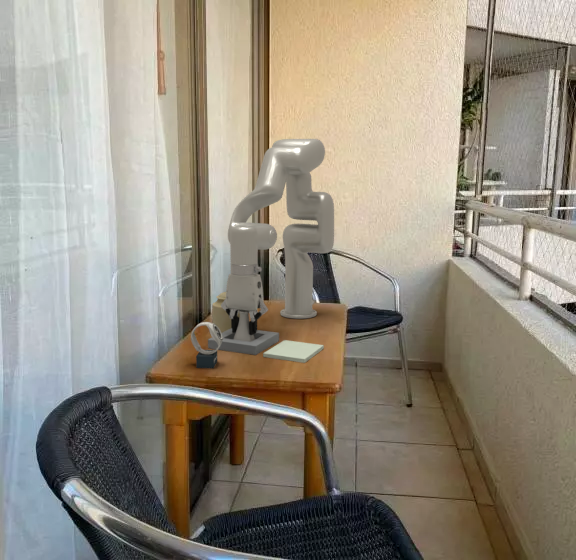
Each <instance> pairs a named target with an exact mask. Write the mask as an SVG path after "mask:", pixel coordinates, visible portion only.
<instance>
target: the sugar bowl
mask: <svg viewBox="0 0 576 560" xmlns="http://www.w3.org/2000/svg"><path fill="white" fill-rule="evenodd" d="M216 299H217V300H216V301H215V302H213V303H212V304H211V305H212V306H211V307H212V308H211V309H212V312H211V313H212V315H211V317H212V319H211V320H212V322H211V323H212V324H216V325H217V326H218V328H219V329H220V331H221V333H223V332H225V331H227V330H229V329H231V319H230V318H229V315H228V314H227V313H226V311H225V310H224V309H223V308H222V307H221V304H222V303H223V301H224V300H225V299H226V291H224V292H221V293H220V294H218V295H216ZM238 317H239V319H240V313H239V312H238Z"/></svg>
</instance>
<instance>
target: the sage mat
mask: <svg viewBox="0 0 576 560" xmlns="http://www.w3.org/2000/svg"><path fill="white" fill-rule="evenodd" d="M324 348H325V347H324V344H317V343H310V342H303V341H295V340H294V341H293V340H287V339H283V340H282V341H281V342H279V343H278V344H276V345H274V346H272V347H270V349H268V350H266V351H264V352H263V353H262V355H263V358H268V359H269V358H270V359H276V360H281V361H282V360H283V361H291V362H295V363H296V362H297V363H301V364H305V363H306V362H308V361H309V360H311V359H312V358H313V357H314V356H316V355H318V354H319V353H320V352H321V351H322V350H324Z"/></svg>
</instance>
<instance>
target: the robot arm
mask: <svg viewBox="0 0 576 560" xmlns="http://www.w3.org/2000/svg"><path fill="white" fill-rule="evenodd" d="M325 155H326V148H325V145H324V143H323V141H322V140H320V139H318V138H285V139H282V138H281V139H278V140H276V141H274V143H273V144H272V146H271V147H269V148H268V149H267V150H266V151H265V152H264V156H263V159H262V162H261V166H260V169H259V173H258V176H257V180H256V184H255V187H254V189H253V190H252V191H251V192H249V193H248V194H246V196H244V197H243V199H242V200H241V201H240V202H239V203H238V204H237V205H236V207H235V208H234V210H233V212H232V214H231V218H230V221H229V224H228V228H227V229H228V230H227V240H228V242H229V245H230V248H229V249H230V251H229V252H230V259H229V260H230V273H229V274H228V277H227V281H226V291H225V292H226V299H225V300H224V301H223V303H222V304H221V307H222V308H223V309H224V310H225V311H226V313H227V314H228V315H229V318H230V319H231V328H232V333H235V332H236V330H237V327H238V324H239V317H238V312H239V310H245V311H249V319H250V320H249V334H250V335H253V334H255V333H256V331H257V330H258V320H259V319H260V318H261V317H262V316H263V315H264V314H266V313H267V312H268V311H269V307H268V306H267V305H266V304H265V302H264V289H263V282H262V278H261V277H262V276H261V274H259V272H260V273H261V272H262V270H263V269H262V266H259V263H258V250H264V251H265V250H266V251H267V250H269V249H271V248H273V247H274V246H275V244H276V242H277V240H278V233H277V230H276V228H275V227H274V226H273V225H271V224H269V223H261V222H258V223H257V222H247V221H248V220H249V218H250V217H251V216H252V215H253V214H255V213H256V212H258V211H259V210H262V209H263V208H267V207H268V206H272V205H273V204H275V203H278V202H279V201H281V200H282V198H283V195H284V190H286V191H285V194H286V195H285V199H286V200H285V201H286V213H287V215H288V217H289V219H290V218H291V219H293V220H297V221H298V220H300V221H316V223H317V224H315V223H313V224H311V223H292V224H289V225H287V226H285V228H284V230H283V232H282V243H283V248H284V259H285V265H284V267H285V270H284V276H285V277H284V308H283V309H281V310H280V312H279V313H280V315H281V316H282V317H284V318H286V319H287V318H288V319H300V320H301V319H303V320H304V319H312V318H315V317H316V316H317V314H318V312H317V311H316V309H313V305H314V304H315V300H314V299H313V291H314V290H313V289H314V288H313V287H314V285H313V284H314V264H313V261H312V258H311V257H310V255H309V254H308V253H313V254H328V253H330V252H331V251H332V250H333V248H334V244H335V203H334V199H333V197H332V195H331V194H330V193H328V192H325V191H313V185H312V183H313V182H312V175H311V172H312V171H314V170H316V169H317V168H318V167H320V166H321V165H322V163H323V162H324V160H325V157H326V156H325ZM285 187H286V189H285ZM258 309H260V310H259V311H258Z"/></svg>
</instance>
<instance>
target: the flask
mask: <svg viewBox="0 0 576 560" xmlns="http://www.w3.org/2000/svg"><path fill="white" fill-rule="evenodd" d="M239 313H240V319H239V324H238V327H237V330H236V333H235V336H234V339H233V340H240V341H248V342H252V341H254V340H255V338H254V335H250V334H249V322H250V314H249V311H245V310H239Z"/></svg>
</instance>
